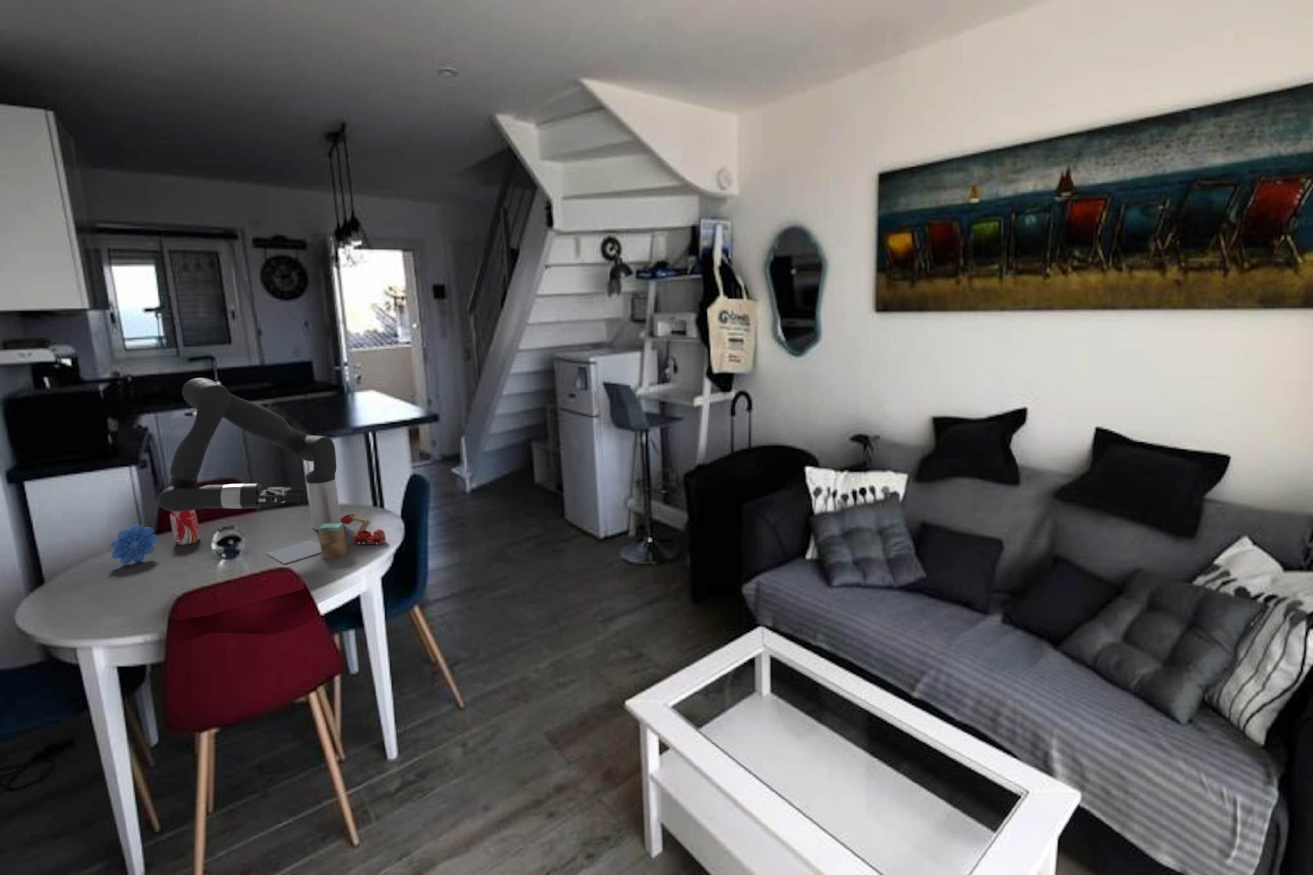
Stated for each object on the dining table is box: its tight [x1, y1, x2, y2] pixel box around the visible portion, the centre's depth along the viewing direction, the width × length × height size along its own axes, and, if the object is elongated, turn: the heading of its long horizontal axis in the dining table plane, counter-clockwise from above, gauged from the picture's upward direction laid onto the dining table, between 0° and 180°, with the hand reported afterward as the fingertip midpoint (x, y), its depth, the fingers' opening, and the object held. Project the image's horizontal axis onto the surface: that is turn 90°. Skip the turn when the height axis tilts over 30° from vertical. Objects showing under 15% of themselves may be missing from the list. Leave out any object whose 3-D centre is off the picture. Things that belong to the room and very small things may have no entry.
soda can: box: [169, 510, 201, 546], centre depth 211 cm, size 7×7×12 cm
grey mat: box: [265, 539, 322, 565], centre depth 201 cm, size 14×14×1 cm
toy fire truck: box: [340, 513, 387, 546], centre depth 207 cm, size 3×14×10 cm, turn 84°
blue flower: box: [110, 524, 159, 565], centre depth 195 cm, size 12×7×12 cm, turn 131°
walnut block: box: [317, 523, 348, 559], centre depth 198 cm, size 6×4×10 cm, turn 96°
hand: (302, 494), depth 195 cm, fingers open, 8 cm apart
